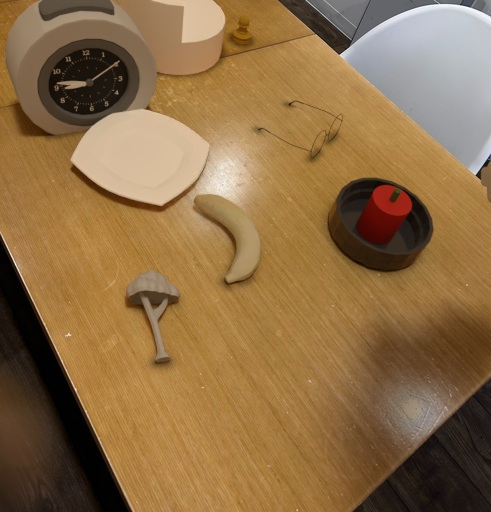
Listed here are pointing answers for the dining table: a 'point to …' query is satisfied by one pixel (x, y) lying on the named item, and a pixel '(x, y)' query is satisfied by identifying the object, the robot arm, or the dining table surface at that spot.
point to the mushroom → (153, 301)
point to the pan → (374, 255)
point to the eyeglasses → (319, 133)
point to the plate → (141, 156)
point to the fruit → (235, 234)
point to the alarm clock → (78, 63)
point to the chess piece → (242, 32)
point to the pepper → (383, 214)
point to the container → (179, 32)
